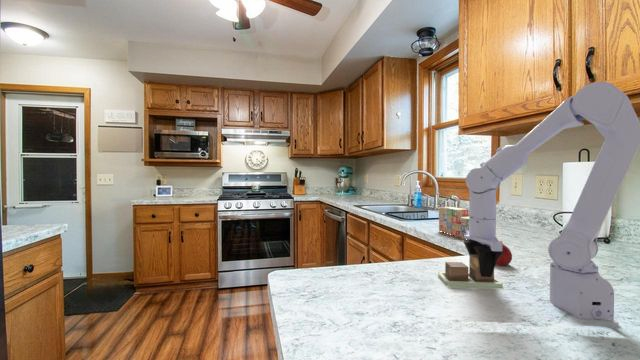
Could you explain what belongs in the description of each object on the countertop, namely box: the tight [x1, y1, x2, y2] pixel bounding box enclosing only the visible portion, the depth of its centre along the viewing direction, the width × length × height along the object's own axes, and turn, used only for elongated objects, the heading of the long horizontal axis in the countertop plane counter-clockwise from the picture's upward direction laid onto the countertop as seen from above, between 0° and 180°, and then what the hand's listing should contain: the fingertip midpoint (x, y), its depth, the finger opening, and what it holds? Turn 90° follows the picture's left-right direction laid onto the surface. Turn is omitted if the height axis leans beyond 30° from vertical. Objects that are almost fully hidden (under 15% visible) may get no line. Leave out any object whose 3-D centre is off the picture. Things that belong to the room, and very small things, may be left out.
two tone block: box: [468, 255, 495, 282], centre depth 71 cm, size 4×4×6 cm
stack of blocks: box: [438, 206, 470, 241], centre depth 129 cm, size 21×6×12 cm, turn 13°
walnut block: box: [444, 261, 469, 281], centre depth 71 cm, size 4×4×4 cm
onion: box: [495, 240, 513, 267], centre depth 85 cm, size 6×6×8 cm
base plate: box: [435, 271, 509, 291], centre depth 71 cm, size 10×13×2 cm
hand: (481, 273), depth 71 cm, fingers closed on two tone block, 4 cm apart
